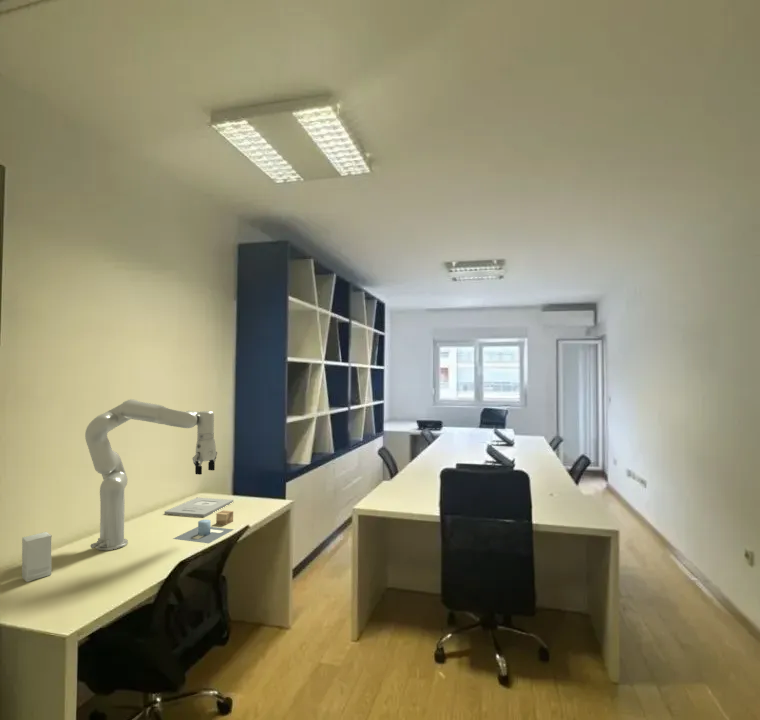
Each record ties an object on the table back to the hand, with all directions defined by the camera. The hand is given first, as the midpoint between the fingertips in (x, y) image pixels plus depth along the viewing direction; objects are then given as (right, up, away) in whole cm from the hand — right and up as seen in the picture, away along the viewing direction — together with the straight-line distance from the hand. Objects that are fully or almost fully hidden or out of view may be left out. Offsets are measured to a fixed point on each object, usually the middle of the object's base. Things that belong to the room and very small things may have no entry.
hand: (205, 472), depth 229 cm
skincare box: (-47, -29, -47) cm, 73 cm away
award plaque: (-19, -32, +44) cm, 58 cm away
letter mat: (0, -30, -1) cm, 30 cm away
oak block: (+4, -31, +17) cm, 35 cm away
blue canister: (0, -30, -1) cm, 30 cm away
